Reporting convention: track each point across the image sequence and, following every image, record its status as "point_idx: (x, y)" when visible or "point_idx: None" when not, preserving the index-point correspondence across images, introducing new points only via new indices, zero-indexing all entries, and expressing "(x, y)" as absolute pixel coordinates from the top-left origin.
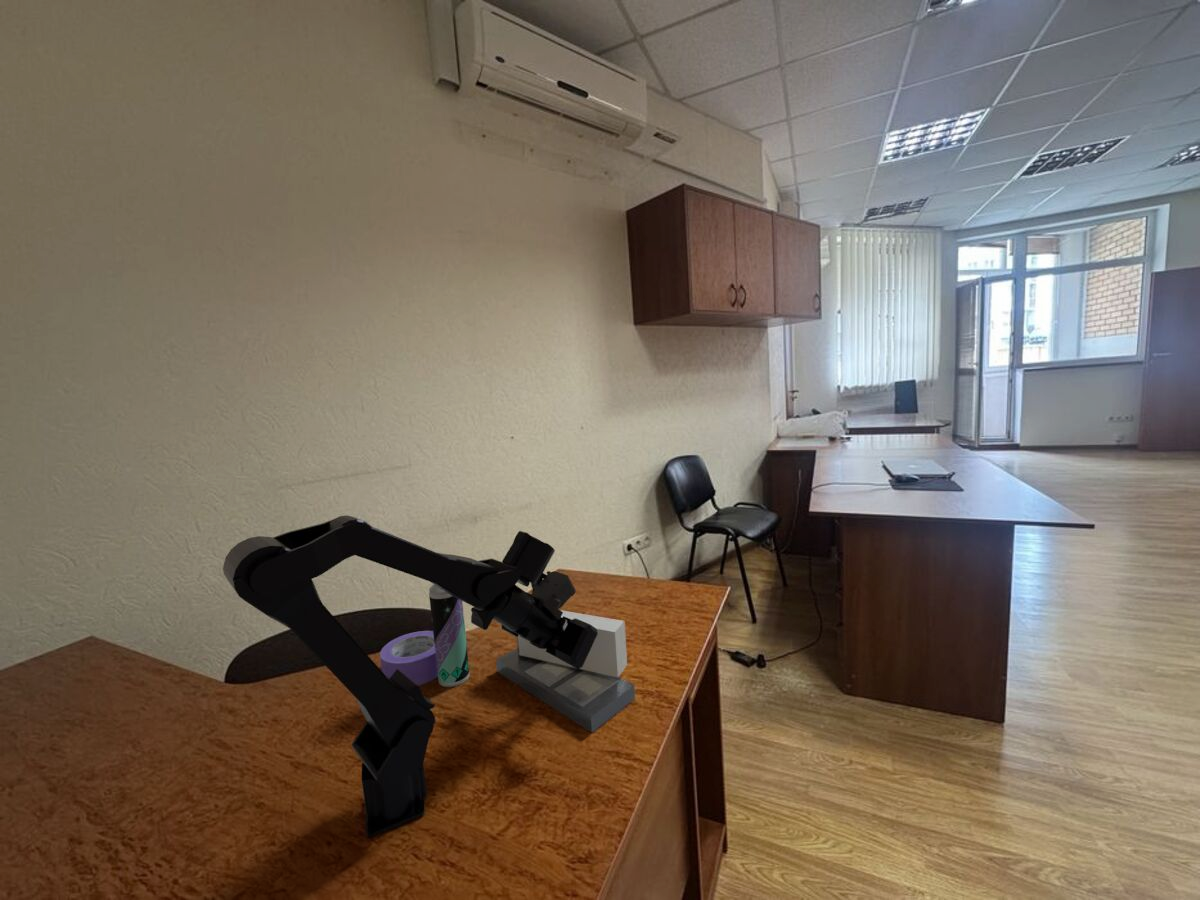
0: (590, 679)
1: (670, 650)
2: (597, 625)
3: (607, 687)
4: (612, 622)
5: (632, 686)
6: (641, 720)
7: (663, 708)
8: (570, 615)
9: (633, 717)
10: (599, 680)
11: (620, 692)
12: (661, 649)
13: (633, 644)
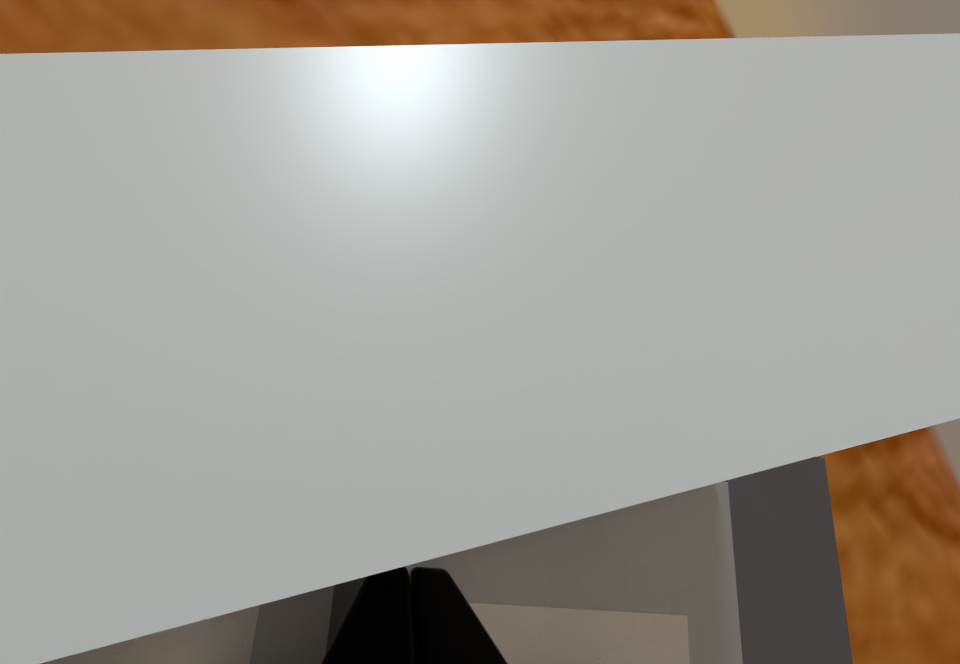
0: (557, 616)
1: (605, 2)
2: (862, 312)
3: (728, 609)
4: (940, 124)
5: (825, 477)
6: (904, 615)
7: (905, 452)
8: (8, 208)
9: (860, 623)
10: (619, 573)
11: (823, 591)
12: (561, 8)
13: (389, 12)
